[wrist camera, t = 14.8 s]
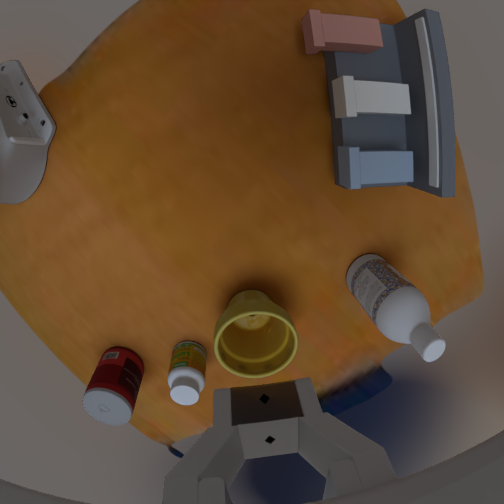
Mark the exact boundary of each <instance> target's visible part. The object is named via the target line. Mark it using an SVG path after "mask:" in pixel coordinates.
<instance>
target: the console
mask: <svg viewBox="0 0 504 504" xmlns="http://www.w3.org/2000/svg"><path fill="white" fill-rule="evenodd" d="M379 24H380V30H381V36H382V42H383V47H382V48H380V49H378V50H376V51H373V52H371V53H369V54H367V53H355V52H339V51H324V56H325V64H326V73H327V82H328V91H329V101H330V112H331V124H332V137H333V153H334V170H335V184H336V185H338V186H341V187H343V188H345V189H349V188H347V187H345V186H343V185H340V184H339V163H338V146H352V147H359V150H365V149H399V150H406V151H413V182H396V183H375V184H361V188H365V187H382V186H401V185H408V186H411V187H414V188H417V189H420V190H423V191H425V192H428V193H431V194H434V195H437V196H439V197H455V127H454V112H453V99H452V88H451V79H450V72H449V64H448V57H447V51H446V45H445V39H444V34H443V29H442V24H441V19H440V15H439V12H436V11H433V10H429V9H423V10H421V11H419V12H417V13H415V14H413V15H412V16H410V17H408V18H406V19H404V20H402V21H400V22H399V23H397V24H395V25H388V24H382V23H379ZM341 76H353V79H354V80H359V81H376V82H388V83H399V84H408V86H409V96H410V107H411V114H407V115H376V114H357V117H349V118H335V107H334V97H333V87H332V81H333V80H335V79H337V78H339V77H341Z"/></svg>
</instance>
